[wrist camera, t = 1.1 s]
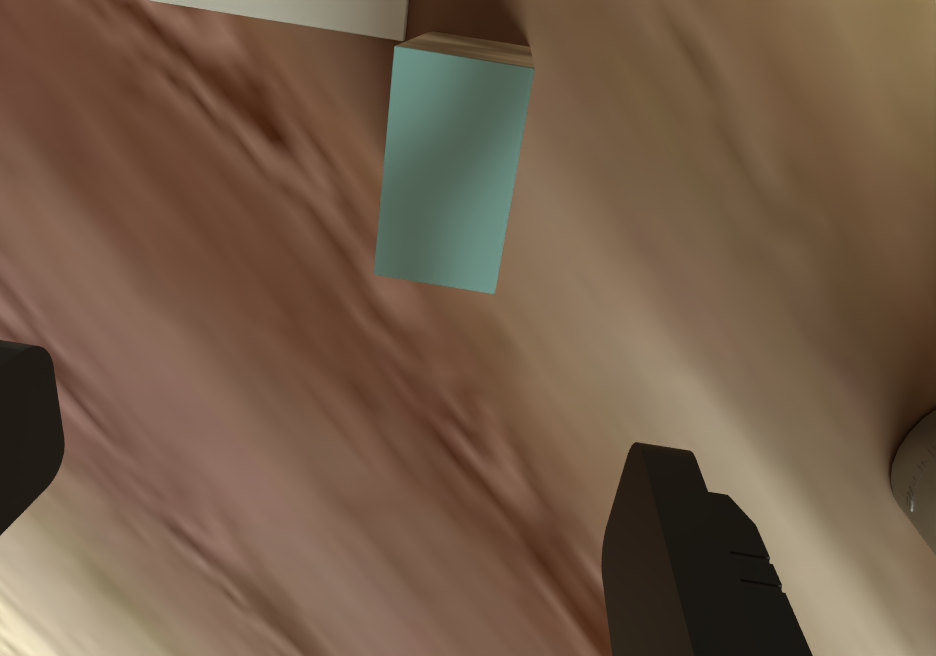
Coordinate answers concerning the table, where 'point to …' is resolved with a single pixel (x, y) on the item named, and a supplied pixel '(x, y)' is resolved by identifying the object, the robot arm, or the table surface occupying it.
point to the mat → (320, 13)
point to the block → (451, 158)
